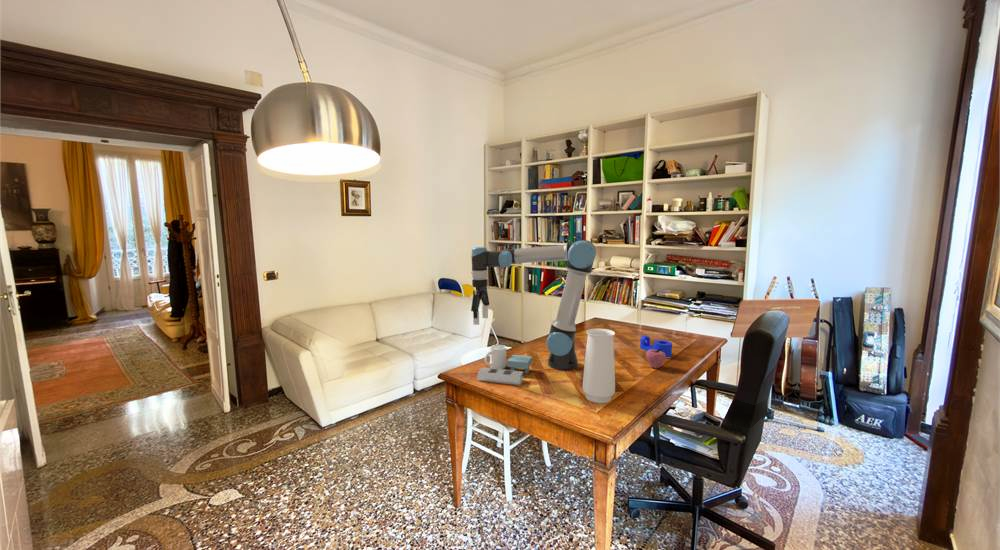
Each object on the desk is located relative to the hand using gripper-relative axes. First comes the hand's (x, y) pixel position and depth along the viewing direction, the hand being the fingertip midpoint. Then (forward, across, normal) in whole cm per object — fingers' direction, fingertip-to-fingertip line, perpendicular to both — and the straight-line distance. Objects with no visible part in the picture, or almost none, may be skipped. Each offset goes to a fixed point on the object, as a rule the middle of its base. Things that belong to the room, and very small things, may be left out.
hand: (480, 321), depth 198 cm
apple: (+25, -23, +84) cm, 90 cm away
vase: (+25, +21, +58) cm, 66 cm away
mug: (+24, 0, +7) cm, 25 cm away
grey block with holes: (+24, +14, +14) cm, 31 cm away
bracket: (+26, -47, +86) cm, 101 cm away
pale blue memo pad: (+24, +1, +20) cm, 31 cm away
